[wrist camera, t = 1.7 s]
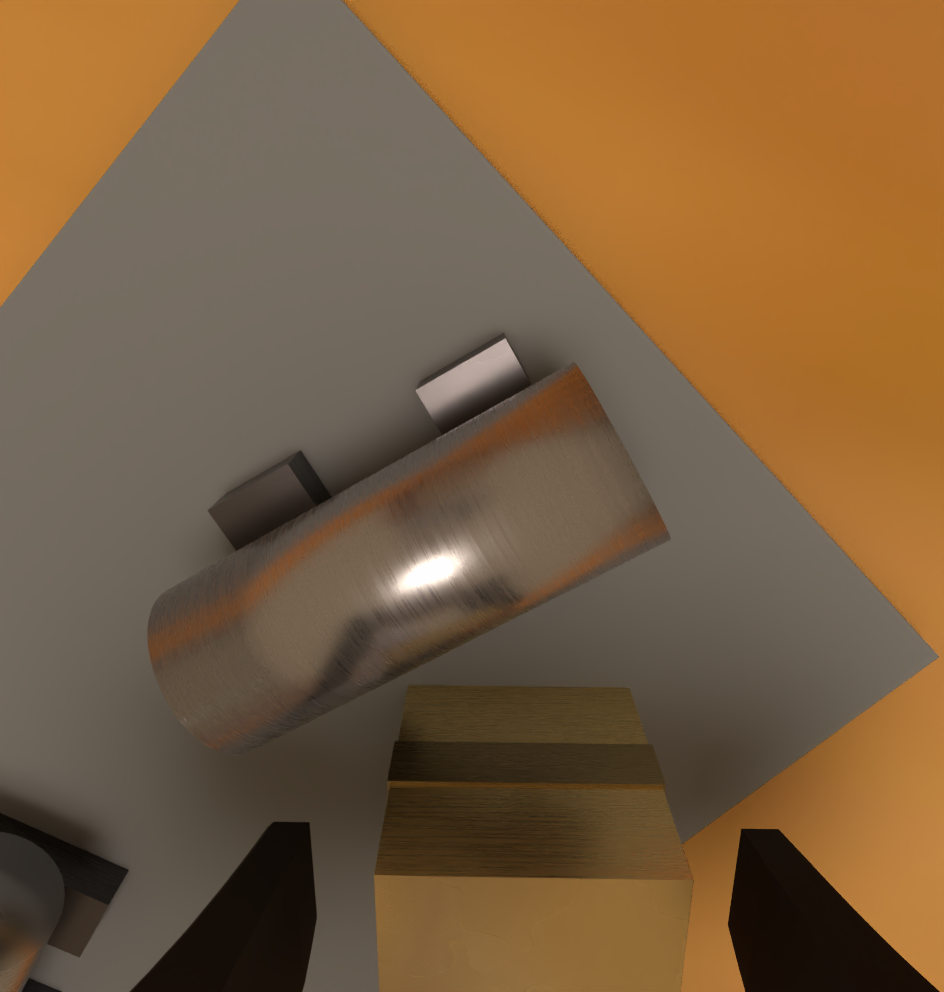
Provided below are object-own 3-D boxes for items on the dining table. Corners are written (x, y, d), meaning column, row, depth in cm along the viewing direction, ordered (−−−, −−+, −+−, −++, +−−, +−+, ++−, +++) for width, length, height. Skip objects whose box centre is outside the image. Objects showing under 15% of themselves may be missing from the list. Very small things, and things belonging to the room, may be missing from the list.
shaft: (323, 668, 15) (262, 824, 11) (205, 501, 14) (87, 605, 10) (643, 503, 14) (710, 608, 10) (539, 308, 13) (564, 333, 9)
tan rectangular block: (631, 684, 14) (697, 876, 10) (618, 866, 15) (669, 1107, 11) (405, 683, 14) (370, 872, 10) (410, 864, 16) (381, 1102, 11)
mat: (921, 641, 14) (939, 656, 14) (230, 1150, 19) (222, 1178, 19) (297, -44, 11) (287, -60, 11) (-349, 775, 16) (-380, 795, 15)
